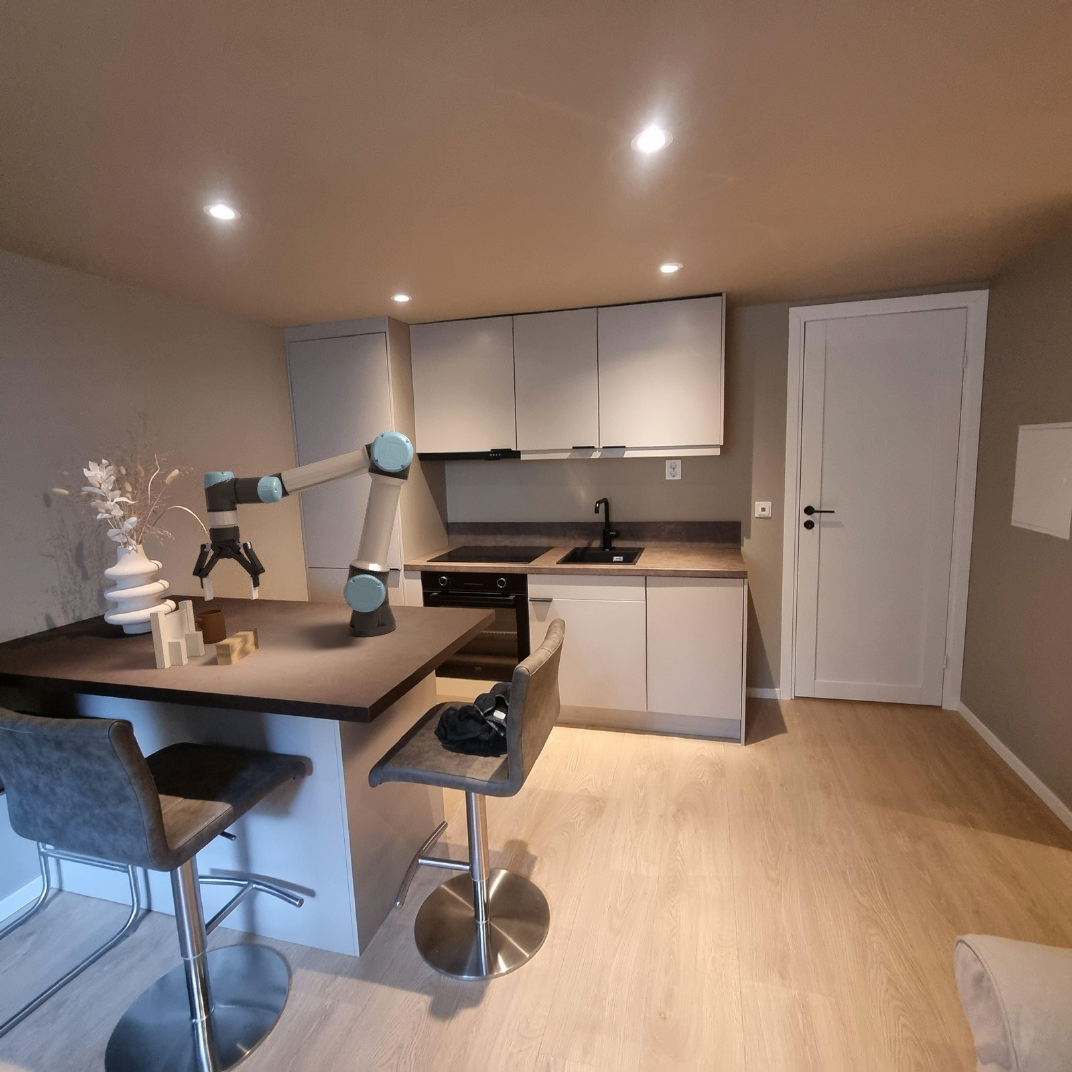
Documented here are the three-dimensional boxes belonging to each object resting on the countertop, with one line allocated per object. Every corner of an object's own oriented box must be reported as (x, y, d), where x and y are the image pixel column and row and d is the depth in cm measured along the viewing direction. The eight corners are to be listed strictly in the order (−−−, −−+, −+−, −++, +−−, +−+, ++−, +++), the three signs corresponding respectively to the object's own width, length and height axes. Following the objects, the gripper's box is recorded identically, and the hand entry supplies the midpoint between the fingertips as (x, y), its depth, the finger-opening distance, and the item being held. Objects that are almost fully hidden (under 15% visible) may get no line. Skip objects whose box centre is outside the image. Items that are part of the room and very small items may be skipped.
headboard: (209, 651, 171) (203, 600, 169) (177, 668, 158) (170, 612, 155) (190, 651, 172) (183, 600, 170) (157, 668, 158) (149, 613, 156)
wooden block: (231, 664, 159) (229, 642, 158) (218, 665, 159) (215, 643, 158) (258, 648, 172) (256, 627, 172) (246, 648, 173) (243, 628, 172)
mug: (198, 649, 174) (195, 619, 173) (181, 647, 177) (177, 618, 175) (232, 637, 185) (228, 609, 184) (215, 636, 188) (211, 608, 186)
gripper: (273, 523, 164) (280, 594, 166) (190, 525, 165) (198, 596, 168) (259, 526, 156) (266, 601, 159) (172, 528, 158) (181, 603, 160)
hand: (231, 599), depth 163 cm, fingers open, 13 cm apart
